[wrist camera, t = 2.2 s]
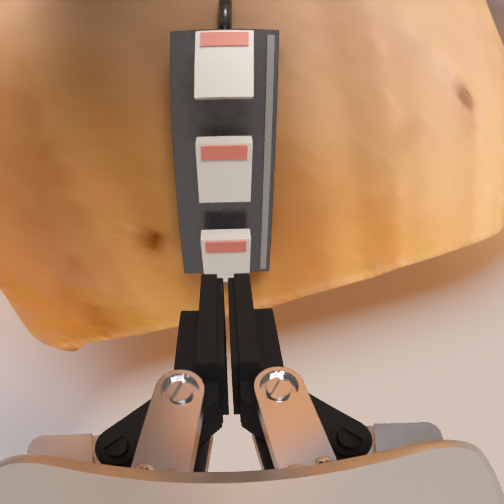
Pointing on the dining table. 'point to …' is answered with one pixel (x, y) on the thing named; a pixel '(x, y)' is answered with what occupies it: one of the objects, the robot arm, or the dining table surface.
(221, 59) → the plate
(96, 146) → the dining table surface
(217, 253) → the rocker
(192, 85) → the power strip
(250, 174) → the rocker
